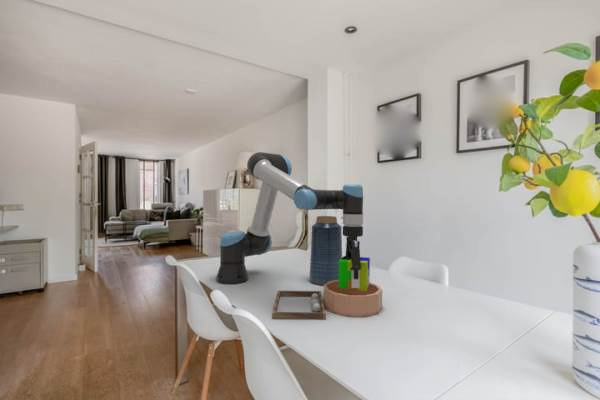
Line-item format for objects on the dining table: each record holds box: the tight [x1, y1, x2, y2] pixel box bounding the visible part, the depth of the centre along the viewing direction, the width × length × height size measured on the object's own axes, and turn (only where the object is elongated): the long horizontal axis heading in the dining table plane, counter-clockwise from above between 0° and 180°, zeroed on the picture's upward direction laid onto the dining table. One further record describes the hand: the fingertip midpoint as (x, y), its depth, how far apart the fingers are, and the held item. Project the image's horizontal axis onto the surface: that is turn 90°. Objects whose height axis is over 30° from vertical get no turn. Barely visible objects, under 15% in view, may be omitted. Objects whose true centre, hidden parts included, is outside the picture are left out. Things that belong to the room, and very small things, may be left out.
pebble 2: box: [310, 299, 320, 307], centre depth 111 cm, size 3×3×3 cm
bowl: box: [323, 280, 383, 318], centre depth 113 cm, size 21×21×7 cm
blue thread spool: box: [308, 215, 343, 286], centre depth 146 cm, size 16×16×32 cm
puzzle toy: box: [339, 255, 371, 291], centre depth 113 cm, size 10×10×10 cm
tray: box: [271, 290, 327, 320], centre depth 112 cm, size 24×18×2 cm
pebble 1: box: [310, 293, 319, 301], centre depth 118 cm, size 3×3×3 cm
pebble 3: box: [311, 302, 321, 312], centre depth 107 cm, size 3×3×3 cm
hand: (352, 283), depth 113 cm, fingers closed on puzzle toy, 12 cm apart
